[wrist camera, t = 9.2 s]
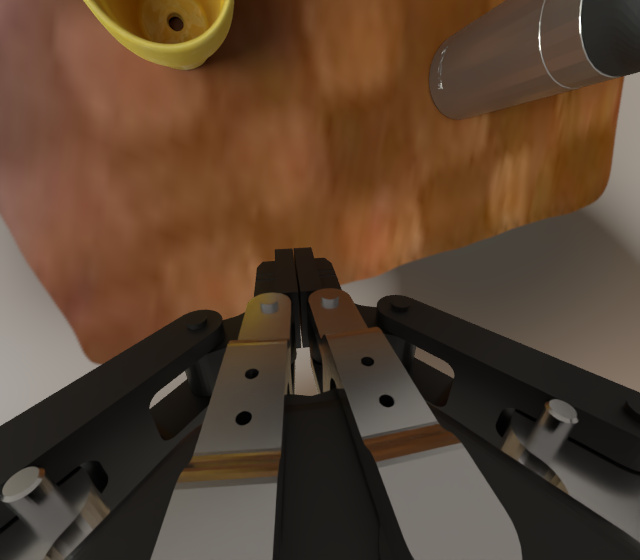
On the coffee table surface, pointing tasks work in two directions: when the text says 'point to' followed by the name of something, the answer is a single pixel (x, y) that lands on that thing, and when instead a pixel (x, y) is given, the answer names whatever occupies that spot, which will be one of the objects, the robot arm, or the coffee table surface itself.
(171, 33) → the plant pot
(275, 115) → the coffee table surface
